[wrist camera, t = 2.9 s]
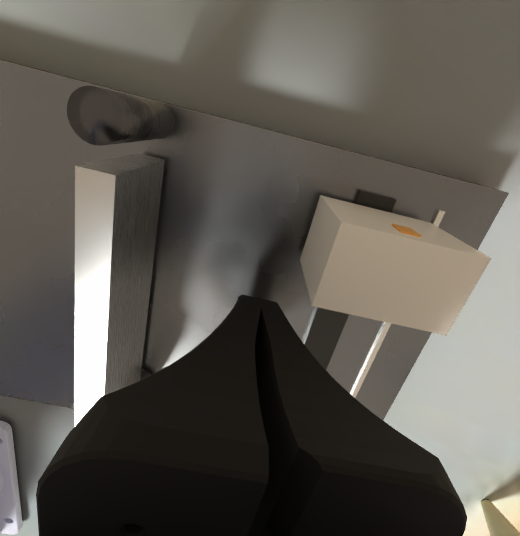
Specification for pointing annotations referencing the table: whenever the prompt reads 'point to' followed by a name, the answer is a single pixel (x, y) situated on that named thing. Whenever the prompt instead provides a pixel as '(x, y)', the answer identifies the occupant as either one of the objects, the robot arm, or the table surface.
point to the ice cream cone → (497, 521)
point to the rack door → (113, 271)
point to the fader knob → (387, 266)
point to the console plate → (195, 231)
